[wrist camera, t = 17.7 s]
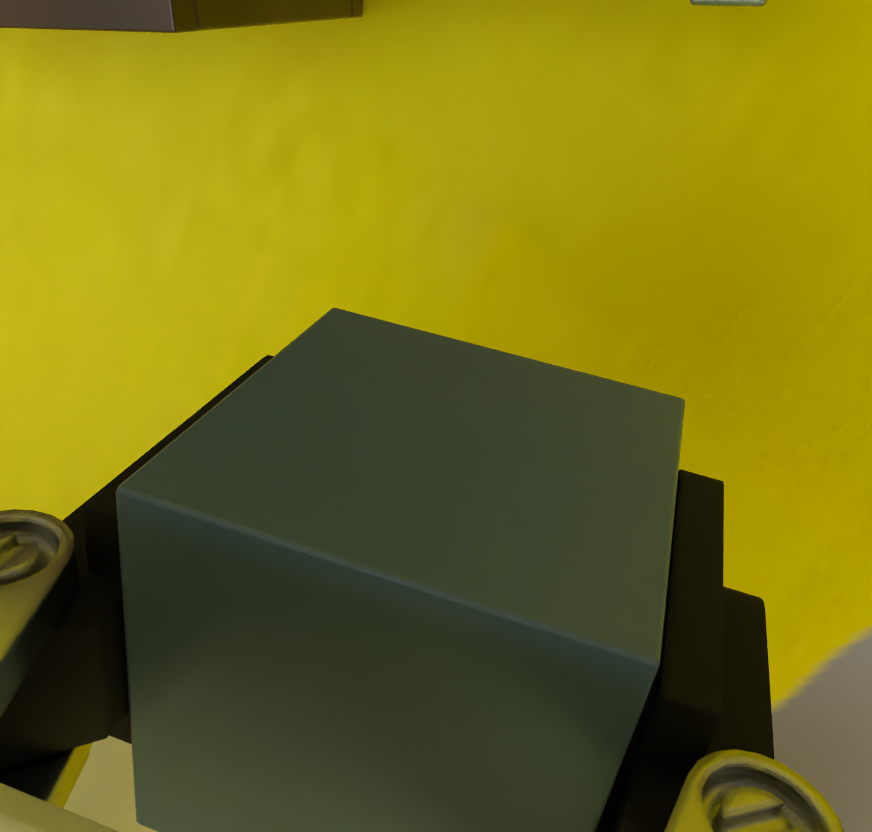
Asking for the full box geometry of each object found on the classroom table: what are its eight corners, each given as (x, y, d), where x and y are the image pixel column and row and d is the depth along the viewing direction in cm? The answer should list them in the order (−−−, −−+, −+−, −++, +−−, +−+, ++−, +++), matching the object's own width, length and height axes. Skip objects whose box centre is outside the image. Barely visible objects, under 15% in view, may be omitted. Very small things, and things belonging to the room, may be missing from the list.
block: (595, 668, 12) (535, 989, 8) (309, 574, 13) (133, 824, 9) (686, 397, 10) (661, 663, 6) (332, 305, 11) (112, 487, 7)
